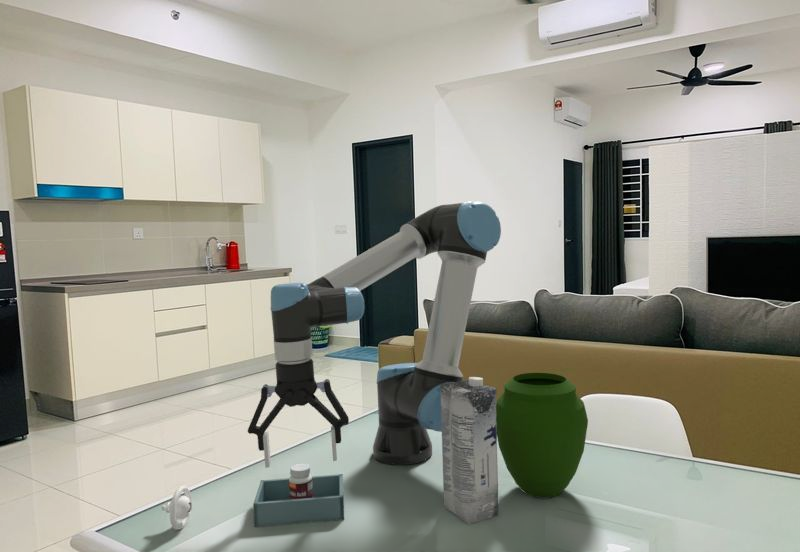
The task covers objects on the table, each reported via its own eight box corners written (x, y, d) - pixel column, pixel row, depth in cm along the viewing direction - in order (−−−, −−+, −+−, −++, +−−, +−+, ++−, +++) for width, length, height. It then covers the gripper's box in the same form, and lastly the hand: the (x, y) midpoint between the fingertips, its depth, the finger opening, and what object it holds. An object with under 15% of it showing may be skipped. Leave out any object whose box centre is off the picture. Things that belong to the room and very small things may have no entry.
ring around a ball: (182, 537, 111) (179, 496, 111) (153, 537, 112) (150, 496, 111) (199, 517, 119) (197, 479, 119) (172, 517, 120) (169, 479, 119)
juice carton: (467, 528, 111) (463, 388, 109) (438, 507, 120) (434, 376, 118) (505, 517, 115) (502, 381, 113) (474, 497, 124) (471, 371, 122)
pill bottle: (286, 511, 119) (284, 470, 119) (295, 501, 124) (293, 462, 123) (308, 512, 118) (306, 472, 118) (316, 502, 123) (315, 463, 122)
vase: (594, 479, 131) (593, 371, 129) (582, 518, 113) (580, 394, 112) (508, 467, 139) (506, 366, 138) (484, 502, 122) (481, 386, 120)
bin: (343, 494, 128) (342, 474, 127) (344, 519, 116) (343, 497, 116) (261, 501, 126) (260, 480, 125) (254, 527, 114) (253, 504, 114)
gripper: (355, 351, 124) (361, 449, 126) (234, 360, 121) (242, 460, 123) (356, 358, 116) (363, 462, 118) (227, 369, 114) (236, 475, 116)
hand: (301, 461), depth 121 cm, fingers open, 13 cm apart
